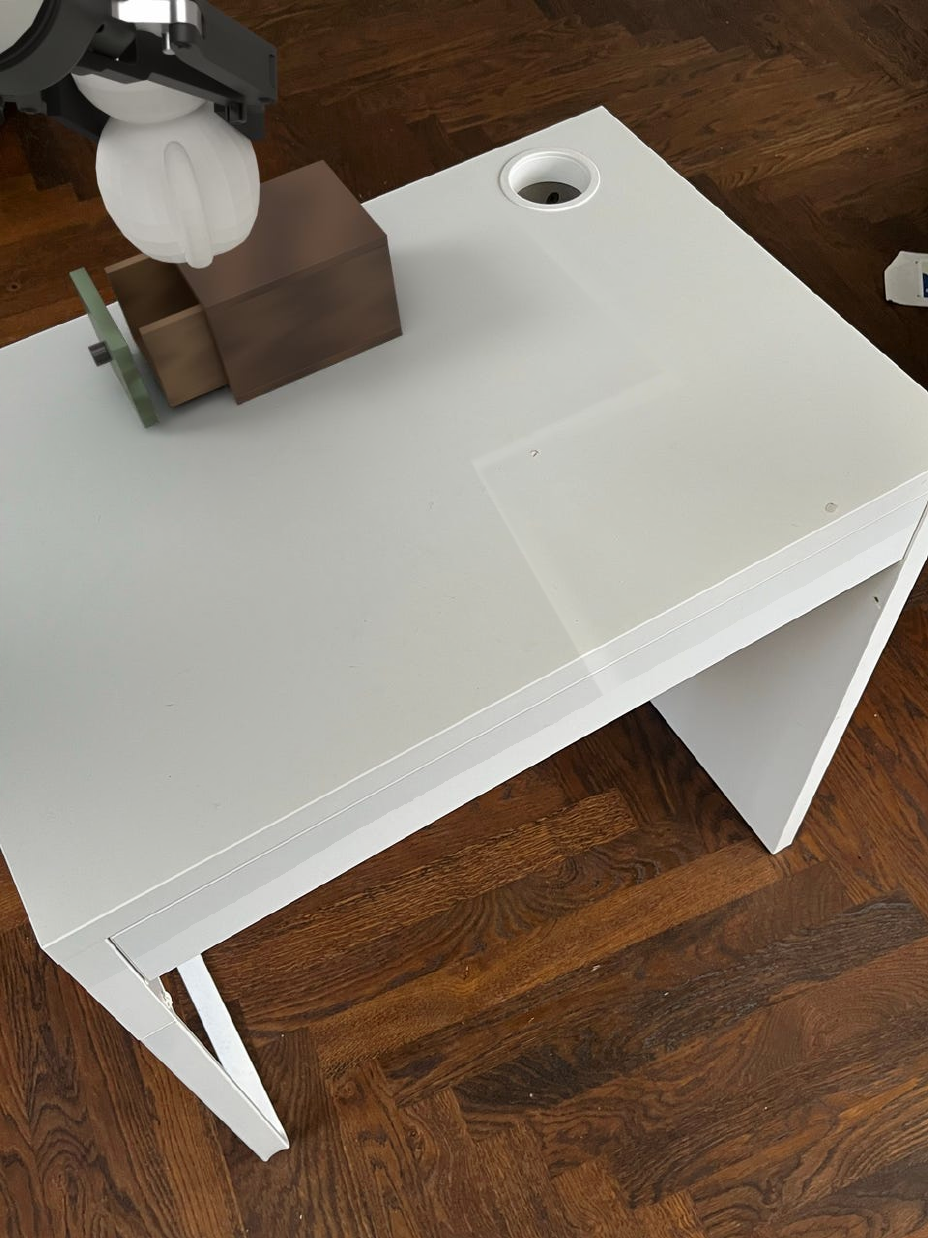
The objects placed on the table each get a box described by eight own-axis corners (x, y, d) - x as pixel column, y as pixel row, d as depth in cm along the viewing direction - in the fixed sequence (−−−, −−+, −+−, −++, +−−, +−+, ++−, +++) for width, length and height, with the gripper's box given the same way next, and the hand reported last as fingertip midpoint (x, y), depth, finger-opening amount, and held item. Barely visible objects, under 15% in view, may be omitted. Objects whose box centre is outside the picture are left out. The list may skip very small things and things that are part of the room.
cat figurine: (243, 163, 72) (190, -98, 60) (299, 280, 65) (252, 11, 53) (101, 197, 70) (17, -65, 58) (143, 321, 63) (57, 53, 51)
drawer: (130, 434, 88) (95, 357, 81) (89, 356, 93) (53, 278, 87) (305, 361, 91) (284, 281, 84) (255, 289, 96) (232, 209, 90)
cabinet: (237, 405, 90) (205, 307, 82) (186, 322, 96) (151, 224, 88) (403, 334, 93) (387, 234, 85) (342, 258, 99) (322, 158, 91)
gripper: (-285, 78, 45) (9, 190, 67) (239, 63, 42) (364, 184, 65) (-306, -133, 44) (1, 52, 66) (233, -161, 41) (362, 41, 63)
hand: (180, 117), depth 65 cm, fingers closed on cat figurine, 8 cm apart
